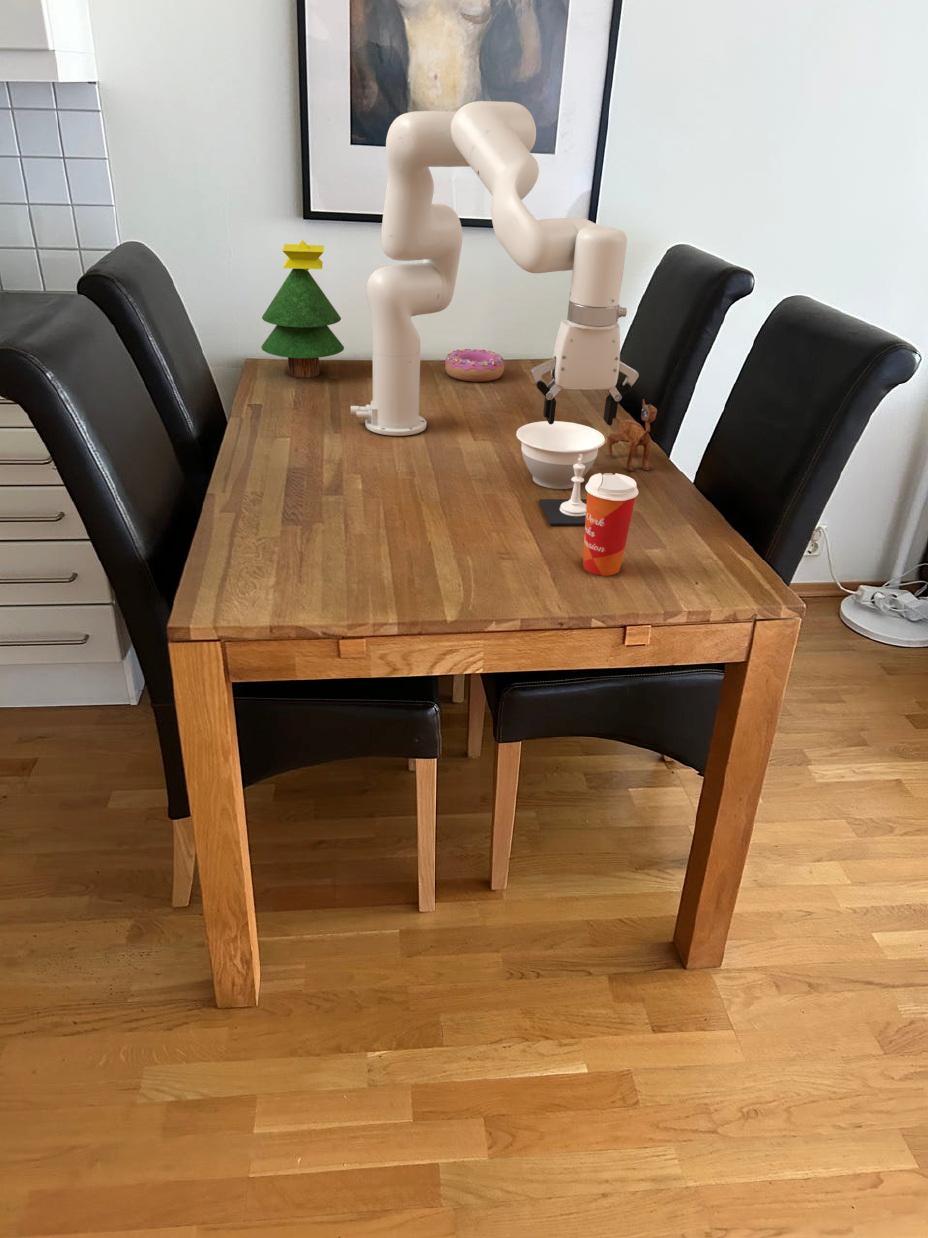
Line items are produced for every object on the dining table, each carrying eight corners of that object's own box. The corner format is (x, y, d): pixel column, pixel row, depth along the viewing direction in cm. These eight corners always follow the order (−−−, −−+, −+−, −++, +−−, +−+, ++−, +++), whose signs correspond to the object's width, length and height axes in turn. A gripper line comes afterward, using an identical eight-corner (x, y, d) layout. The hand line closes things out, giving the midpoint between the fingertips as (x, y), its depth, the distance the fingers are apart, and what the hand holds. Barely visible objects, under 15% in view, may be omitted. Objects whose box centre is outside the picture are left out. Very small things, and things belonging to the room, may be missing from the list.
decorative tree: (266, 361, 230) (258, 231, 215) (344, 362, 233) (342, 233, 217) (260, 384, 214) (250, 245, 199) (344, 385, 216) (341, 247, 201)
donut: (503, 385, 222) (505, 364, 220) (443, 382, 222) (444, 361, 219) (502, 368, 235) (503, 348, 232) (445, 365, 234) (446, 345, 232)
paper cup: (571, 555, 145) (581, 470, 138) (620, 555, 146) (632, 471, 139) (581, 579, 138) (592, 491, 131) (632, 579, 139) (645, 492, 132)
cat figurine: (592, 443, 190) (600, 376, 183) (622, 441, 191) (631, 375, 185) (628, 476, 175) (638, 404, 168) (660, 474, 177) (672, 403, 170)
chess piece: (591, 507, 160) (598, 452, 155) (585, 518, 156) (592, 461, 151) (563, 502, 162) (569, 447, 156) (556, 513, 158) (562, 457, 152)
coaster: (550, 526, 154) (550, 523, 154) (539, 501, 163) (539, 499, 163) (609, 525, 155) (609, 522, 155) (595, 501, 164) (595, 498, 164)
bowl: (576, 504, 162) (581, 457, 158) (497, 482, 169) (500, 437, 165) (613, 477, 174) (619, 433, 170) (538, 457, 181) (542, 414, 177)
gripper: (640, 310, 147) (624, 415, 156) (532, 306, 145) (522, 413, 154) (653, 322, 141) (636, 430, 150) (541, 318, 139) (530, 429, 148)
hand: (578, 421), depth 152 cm, fingers open, 9 cm apart
